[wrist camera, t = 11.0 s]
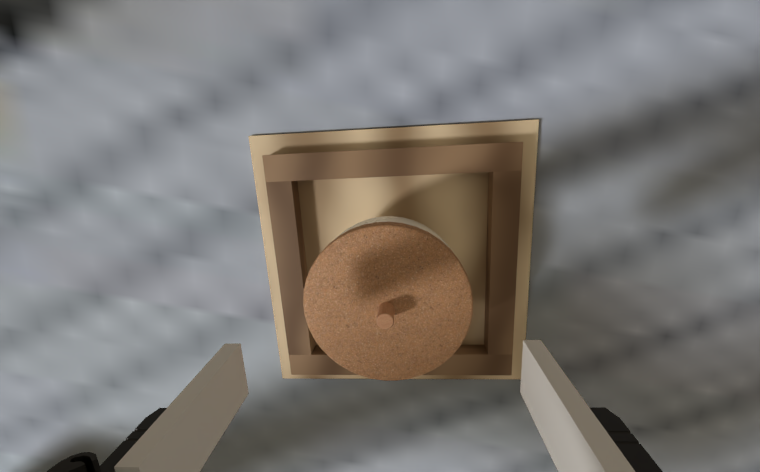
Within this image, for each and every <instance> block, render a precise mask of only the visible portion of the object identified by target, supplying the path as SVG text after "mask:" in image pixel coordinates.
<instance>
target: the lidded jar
mask: <svg viewBox="0 0 760 472" xmlns="http://www.w3.org/2000/svg"><path fill="white" fill-rule="evenodd" d="M303 307H304V315H305V318H306V322H307V325H308V328H309V330H310V332H311V334H312V336H313V338H314V339H315V341H316V342H317V344H318V345H319V347H320V348H321V349H322V350H323V351H324V352H325V353H326V354H327V355H328V356H329V357H330V358H331V359H332V360H334V361H335V362H336V363H337V364H338V365H340V366H342V367H344V368H345V369H347V370H349V371H351V372H353V373H355V374H358V375H360V376H364V377H368V378H371V379H378V380H384V381H387V380H404V379H410V378H414V377H417V376H420V375H423V374H425V373H428V372H430V371H432V370H434V369H435V368H437V367H439V366H440V365H442V364H443V363H444V362H446V361H447V360H448V359H449V358H450V357H451V356H452V355H453V354H454V353H455V352H456V351H457V349H458V348H459V347H460V346H461V344H462V342H463V341H464V339H465V337H466V335H467V333H468V330H469V327H470V325H471V320H472V315H473V295H472V289H471V285H470V282H469V279H468V276H467V273H466V271H465V270H464V268H463V266H462V264H461V262H460V260H459V259H458V258H457V256H456V255H455V254H454V252H453V251H452V249H451V248H450V247H449V246H448V244H447V243H446V242H445V241H444V240H443V239H442V238H441V237H440V236H439V235H438V234H436V233H435V232H434V231H433V230H431V229H430V228H428V227H427V226H425V225H423V224H421V223H419V222H416V221H414V220H411V219H407V218H403V217H395V216H382V217H376V218H371V219H367V220H364V221H362V222H359V223H357V224H355V225H353V226H352V227H350V228H348V229H346V230H345V231H344V232H342V233H341V234H340V235H339V236H337V237H336V238H335V239H334V240H333V241H332V242H331V243H329V244H328V245H327V246H326V247H325V249H324V250H323V251H322V252H321V253H320V254H319V255H318V257H317V258H316V260H315V262H314V263H313V265H312V266H311V268H310V271H309V273H308V276H307V278H306V282H305V287H304V293H303Z"/></svg>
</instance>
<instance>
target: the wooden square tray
mask: <svg viewBox="0 0 760 472" xmlns="http://www.w3.org/2000/svg"><path fill="white" fill-rule="evenodd" d="M538 126H539V120H521V121H504V122H486V123H469V124H451V125H434V126H416V127H399V128H381V129H364V130H347V131H329V132H312V133H294V134H277V135H259V136H249V143H250V150H251V157H252V164H253V171H254V178H255V185H256V192H257V199H258V206H259V213H260V221H261V228H262V235H263V242H264V249H265V256H266V263H267V270H268V277H269V284H270V291H271V299H272V306H273V313H274V320H275V327H276V334H277V341H278V348H279V355H280V362H281V369H282V376H283V378H311V379H371V378H368V377H364V376H360V375H358V374H355V373H353V372H351V371H349V370H347V369H345V368H344V367H342V366H340V365H338V364H337V363H336V362H335V361H334V360H332V359H331V358H330V357H329V356H328V355H327V354H326V353H325V352H324V351H323V350H322V349H321V348H320V347H319V345H318V344H317V342H316V341H315V339H314V338H313V336H312V334H311V332H310V330H309V328H308V325H307V322H306V318H305V315H304V307H303V293H304V287H305V282H306V278H307V276H308V273H309V271H310V268H311V266H312V265H313V263H314V262H315V260H316V258H317V257H318V255H319V254H320V253H321V252H322V251H323V250H324V249H325V247H326V246H327V245H328V244H329V243H331V242H332V241H333V240H334V239H335V238H336V237H337V236H339V235H340V234H341V233H342V232H344V231H345V230H346V229H348V228H350V227H352V226H353V225H355V224H357V223H359V222H362V221H364V220H367V219H371V218H376V217H382V216H395V217H403V218H407V219H411V220H414V221H416V222H419V223H421V224H423V225H425V226H427V227H428V228H430V229H431V230H433V231H434V232H435V233H436V234H438V235H439V236H440V237H441V238H442V239H443V240H444V241H445V242H446V243H447V244H448V246H449V247H450V248H451V249H452V251H453V252H454V254H455V255H456V256H457V258H458V259H459V260H460V262H461V264H462V266H463V268H464V270H465V271H466V273H467V276H468V279H469V282H470V285H471V289H472V295H473V315H472V320H471V325H470V327H469V330H468V333H467V335H466V337H465V339H464V341H463V342H462V344H461V346H460V347H459V348H458V349H457V351H456V352H455V353H454V354H453V355H452V356H451V357H450V358H449V359H448V360H447V361H446V362H444V363H443V364H442V365H440V366H439V367H437V368H435V369H434V370H432V371H430V372H428V373H425V374H423V375H420V376H417V377H414V378H410V379H521V370H522V351H523V340H526V325H527V308H528V292H529V275H530V259H531V242H532V226H533V209H534V193H535V176H536V159H537V143H538Z"/></svg>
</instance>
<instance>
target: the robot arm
mask: <svg viewBox="0 0 760 472" xmlns="http://www.w3.org/2000/svg"><path fill="white" fill-rule="evenodd" d="M520 393H521V395H522V397H523V400H524V402H525V404H526V406H527V408H528V410H529V412H530V414H531V416H532V418H533V420H534V422H535V425H536V427H537V429H538V431H539V433H540V435H541V437H542V439H543V441H544V443H545V445H546V447H547V449H548V452H549V454H550V456H551V458H552V460H553V462H554V464H555V466H556V468H557V470H558V472H662V470H661V469H660V468H659V467H658V465H657V464H656V463H655V462H654V460H653V459H652V458H651V457H650V455H649V454H648V453H647V452H646V450H645V449H644V448H643V447H642V445H641V444H639V442H638V440H637V439H636V438H635V437H634V435H633V434H631V433H630V430H629V429H628V428H627V427H626V425H625V424H624V423H623V422H622V420H621V419H620V418H619V417H617V416H616V415H614V414H613V413H612V412H610V411H609V410H608V409H606V408H589V406H588V405H587V404H586V402H585V401H584V399H583V398H582V397H581V395H580V394H579V392H578V391H577V390H576V388H575V387H574V386H573V384H572V383H571V381H570V380H569V379H568V377H567V376H566V374H565V373H564V372H563V370H562V369H561V367H560V366H559V365H558V363H557V362H556V360H555V359H554V358H553V356H552V355H551V354H550V352H549V351H548V349H547V348H546V347H545V345H544V344H543V342H542V341H541V340H523V351H522V370H521V388H520ZM248 394H249V392H248V386H247V380H246V374H245V368H244V362H243V356H242V350H241V344H224V345H223V346H222V348H221V349H220V350H219V351H218V352H217V353H216V354H215V355H214V356H213V358H212V359H211V360H210V361H209V362H208V363H207V364H206V365H205V366H204V368H203V369H202V370H201V371H200V372H199V373H198V374H197V375H196V376H195V378H194V379H193V380H192V381H191V382H190V383H189V384H188V385H187V386H186V388H185V389H184V390H183V391H182V392H181V393H180V394H179V395H178V396H177V398H176V399H175V400H174V401H173V402H172V403H171V404H170V405H169V406H168V408H159V409H158V410H156V411H155V412H154V413H152V414H151V415H149V416H148V417H146V418H145V419H144V420H143V421H142V422H141V423H140V424H139V426H138V427H137V428H136V429H135V431H133V432H132V433H131V434H130V435H129V436H128V437H127V438H126V441H123V442H122V444H121V445H120V446H119V447H118V448H117V449H116V450H115V451H114V452H113V453H112V454H111V455H110V456H109V457H108V458H107V459H106V460H105V461H104V463H103V464H102V465H101V466H99V463H98V460H97V457H96V454H94V453H91V452H86V453H79V454H76V455H73V456H70V457H68V458H67V459H65V460H63V461H61V462H59V463H58V464H56V465H55V466H53V467H52V468H51V469H49V470H48V471H47V472H200V471H201V469H202V467H203V466H204V464H205V463H206V461H207V459H208V458H209V456H210V455H211V453H212V451H213V450H214V448H215V447H216V445H217V443H218V442H219V440H220V439H221V437H222V435H223V434H224V432H225V430H226V429H227V427H228V426H229V424H230V422H231V421H232V419H233V418H234V416H235V414H236V413H237V411H238V410H239V408H240V406H241V405H242V403H243V402H244V400H245V398H246V397H247V395H248Z"/></svg>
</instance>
